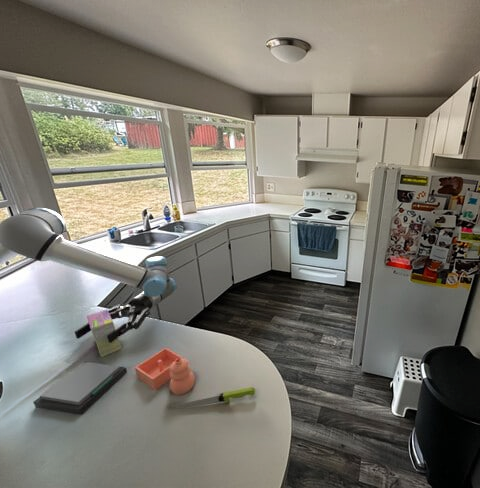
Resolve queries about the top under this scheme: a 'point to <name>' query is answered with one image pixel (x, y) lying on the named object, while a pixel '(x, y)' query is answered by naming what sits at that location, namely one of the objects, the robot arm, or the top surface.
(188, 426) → the top surface
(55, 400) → the scale
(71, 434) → the top surface
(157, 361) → the pottery
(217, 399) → the kitchen knife
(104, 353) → the box
